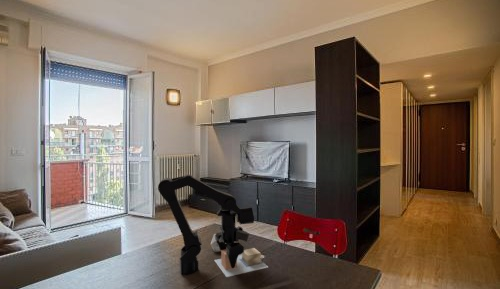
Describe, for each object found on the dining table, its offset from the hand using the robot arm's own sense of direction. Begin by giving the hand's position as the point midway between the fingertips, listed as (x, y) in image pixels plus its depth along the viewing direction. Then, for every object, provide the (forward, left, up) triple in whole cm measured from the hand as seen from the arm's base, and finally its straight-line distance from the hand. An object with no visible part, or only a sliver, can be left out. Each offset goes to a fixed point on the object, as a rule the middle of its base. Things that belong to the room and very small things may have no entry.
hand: (229, 263), depth 108 cm
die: (+2, +18, -2) cm, 18 cm away
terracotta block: (0, 0, -1) cm, 1 cm away
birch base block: (+10, 0, -1) cm, 10 cm away
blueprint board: (+5, 0, -2) cm, 5 cm away
